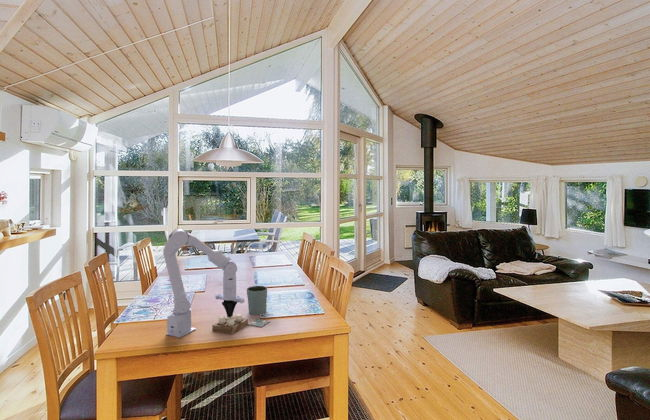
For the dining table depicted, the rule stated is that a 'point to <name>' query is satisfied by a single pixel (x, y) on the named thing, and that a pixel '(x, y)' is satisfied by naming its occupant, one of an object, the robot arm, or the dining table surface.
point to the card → (259, 323)
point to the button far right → (238, 318)
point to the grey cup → (257, 299)
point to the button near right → (230, 322)
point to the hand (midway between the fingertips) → (230, 316)
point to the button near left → (221, 320)
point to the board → (227, 329)
